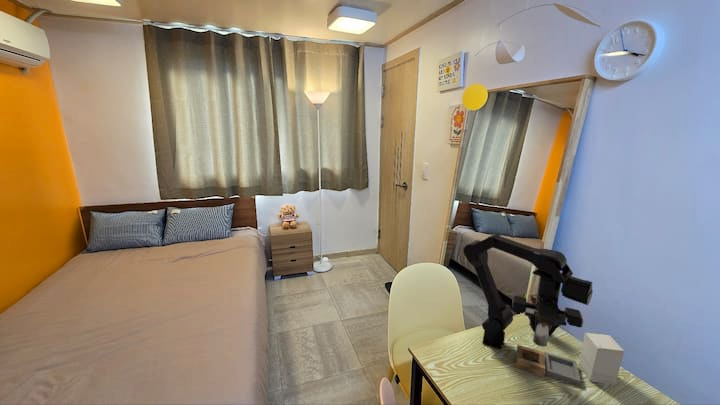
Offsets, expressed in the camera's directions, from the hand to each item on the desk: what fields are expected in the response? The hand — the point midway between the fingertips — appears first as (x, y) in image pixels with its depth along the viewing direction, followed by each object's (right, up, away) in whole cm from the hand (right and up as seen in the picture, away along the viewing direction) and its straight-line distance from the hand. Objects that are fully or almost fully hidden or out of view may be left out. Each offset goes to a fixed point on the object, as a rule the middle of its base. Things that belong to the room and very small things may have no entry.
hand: (541, 333), depth 95 cm
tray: (+7, -13, +1) cm, 15 cm away
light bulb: (+10, -8, +21) cm, 25 cm away
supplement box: (+17, -13, 0) cm, 22 cm away
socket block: (-2, -12, +4) cm, 13 cm away
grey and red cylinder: (0, -3, +1) cm, 4 cm away
